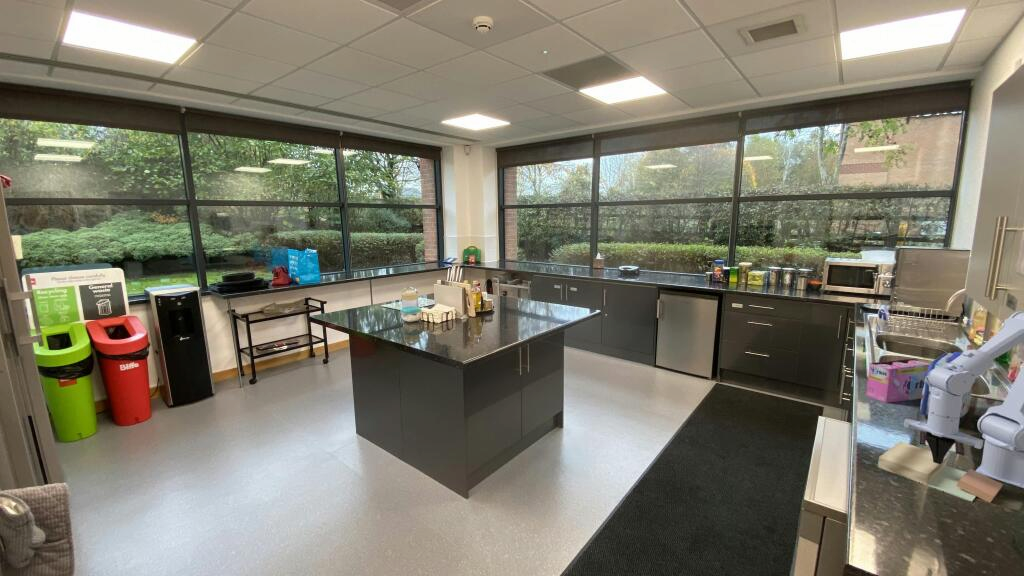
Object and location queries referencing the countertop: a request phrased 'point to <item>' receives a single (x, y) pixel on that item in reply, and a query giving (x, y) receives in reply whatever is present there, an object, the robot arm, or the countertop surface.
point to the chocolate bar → (955, 449)
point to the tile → (979, 485)
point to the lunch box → (926, 394)
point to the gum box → (896, 380)
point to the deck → (911, 462)
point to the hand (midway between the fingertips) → (937, 462)
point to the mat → (950, 483)
